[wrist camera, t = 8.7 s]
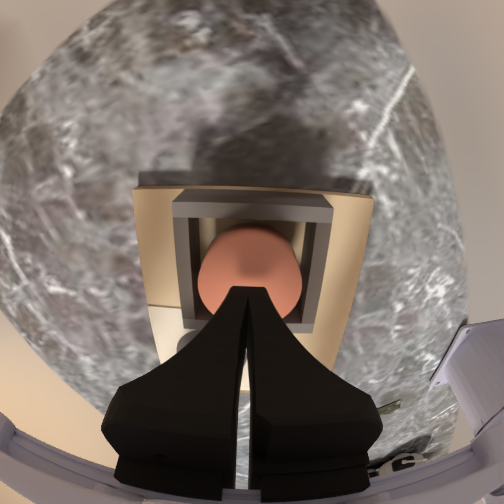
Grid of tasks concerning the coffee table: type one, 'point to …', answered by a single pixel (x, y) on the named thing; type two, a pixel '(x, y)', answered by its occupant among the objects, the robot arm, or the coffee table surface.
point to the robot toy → (398, 464)
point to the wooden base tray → (250, 211)
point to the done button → (250, 266)
